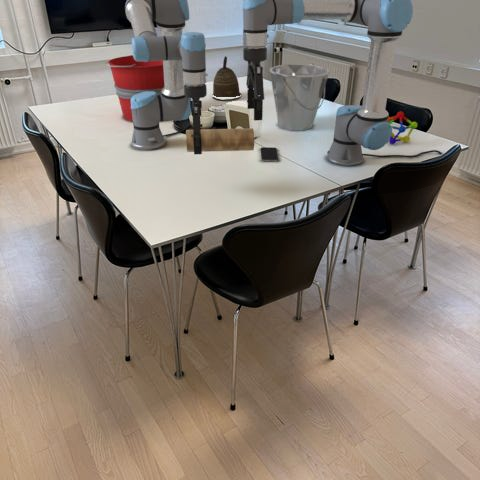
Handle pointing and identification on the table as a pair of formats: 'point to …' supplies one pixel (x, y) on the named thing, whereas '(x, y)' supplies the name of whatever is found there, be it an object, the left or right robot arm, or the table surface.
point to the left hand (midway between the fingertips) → (197, 149)
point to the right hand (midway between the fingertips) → (254, 114)
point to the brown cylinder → (223, 140)
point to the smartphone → (269, 154)
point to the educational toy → (401, 128)
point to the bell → (225, 82)
